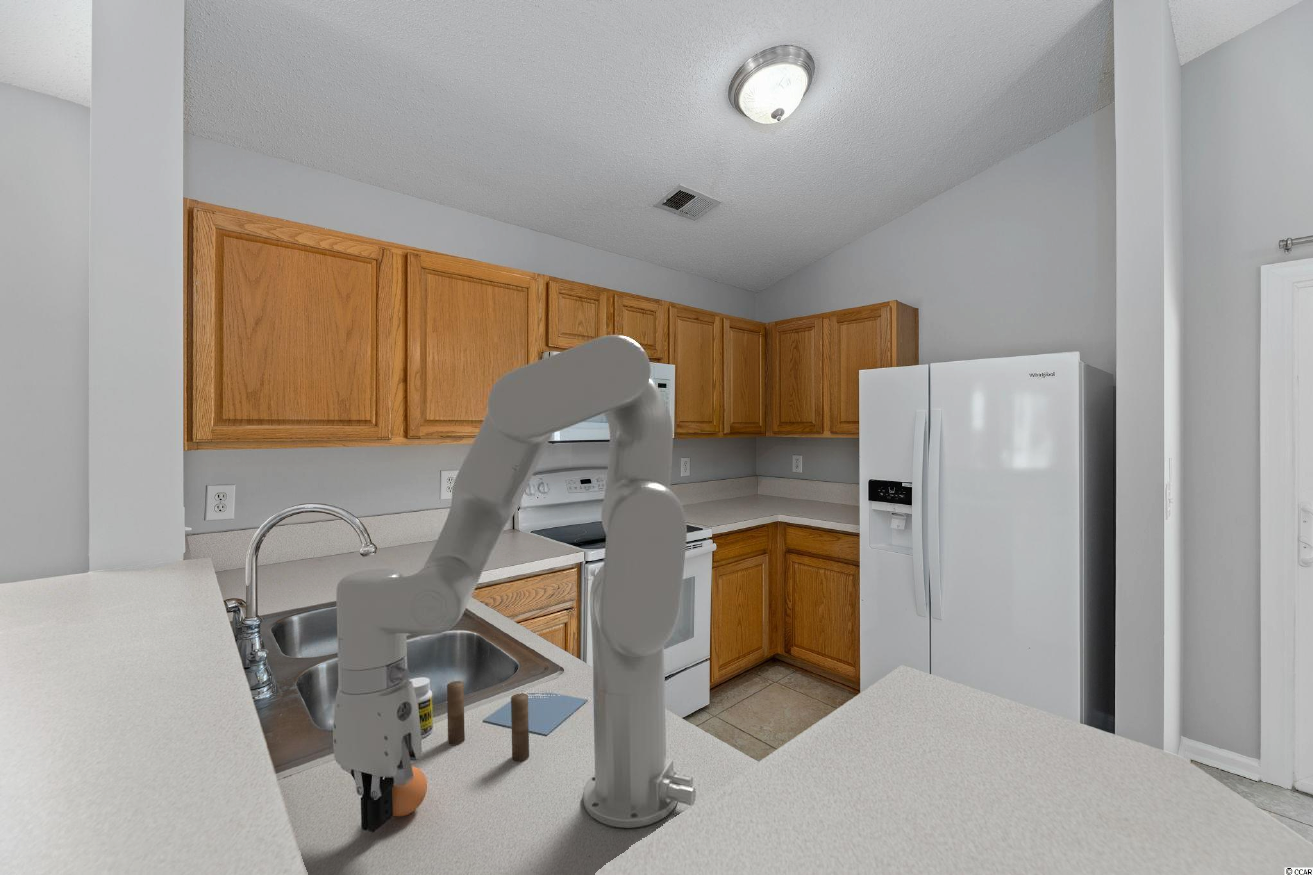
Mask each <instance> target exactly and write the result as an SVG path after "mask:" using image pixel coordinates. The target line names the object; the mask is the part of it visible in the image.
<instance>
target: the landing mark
mask: <svg viewBox="0 0 1313 875" xmlns="http://www.w3.org/2000/svg"><path fill="white" fill-rule="evenodd" d="M541 691H542V692H543V690H541ZM544 692H546V693H540V694H542V695H544V694H545V695H547V696H541V697H543V698H540V696H532V698H528V719H529V733H533V734H537V735H542V736H548V735H550V734H551V733H552V732H553V731H554V730H556V729H557V728H558V727H559V726H560V725H561V724H563V723H564V722H565V721H566V720H567V719H569V717H571V716H572V715H573V714H574V713H575V712H576V711H578V710H579V709H580V708H581V707H583V706H584V705H585V704H586V703H587V702H588V701H589V699H586V698H581V697H575V696H571V695H565V694H559V693H554V692H549V691H544ZM547 692H549V693H547ZM527 694H529V695H530V694H531V695H535V694H539V693H527ZM548 695H550V696H548ZM551 695H552V696H551ZM553 695H555V696H553ZM558 695H560V696H558ZM561 695H562V696H561ZM528 697H529V696H528ZM530 697H531V696H530ZM533 697H534V698H533ZM536 697H537V698H536ZM538 697H539V698H538ZM544 697H546V698H544ZM547 697H548V698H547ZM482 722H483V723H488V724H493V725H498V726H501V727H507V728H511V729H512V723H511V700H510V701H509V702H507V703H506V704H504V705H503V706H501V707H499V708H498V709H497V710H495V711H494V712H493V713H491V714H490V715H488V716H487V717H485V718H484V719H482Z"/></svg>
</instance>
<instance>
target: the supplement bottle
mask: <svg viewBox="0 0 1313 875" xmlns="http://www.w3.org/2000/svg"><path fill="white" fill-rule="evenodd" d="M408 680H409V681H412V684H413V687H414V690H415V695H416V699H417V705H418V711H419V719H420V729H421V739H424V738H425V737H428V736H429V735H430V734H431V733H432V732H433V730H434V723H433V722H434V720H433V719H434V718H433V716H434V715H433V712H434V711H433V710H434V709H433V692H432V690H431V681H430V678H428V677H423V676H422V677H414V678H411V679H408Z"/></svg>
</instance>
